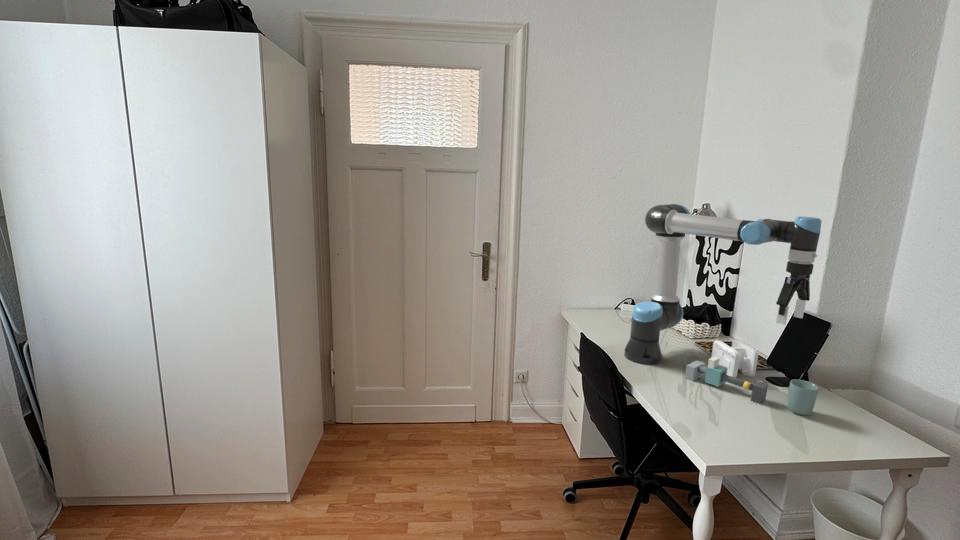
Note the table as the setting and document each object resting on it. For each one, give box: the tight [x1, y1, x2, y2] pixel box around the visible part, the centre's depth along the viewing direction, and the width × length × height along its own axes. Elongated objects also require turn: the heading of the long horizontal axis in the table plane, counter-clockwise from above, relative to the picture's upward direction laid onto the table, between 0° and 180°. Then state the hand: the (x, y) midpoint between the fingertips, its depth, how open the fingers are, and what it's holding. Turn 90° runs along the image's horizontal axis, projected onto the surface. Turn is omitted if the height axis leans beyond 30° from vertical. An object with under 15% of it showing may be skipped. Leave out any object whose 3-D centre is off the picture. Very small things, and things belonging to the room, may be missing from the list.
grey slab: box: [684, 360, 705, 382], centre depth 177 cm, size 3×8×5 cm, turn 129°
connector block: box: [750, 380, 769, 405], centre depth 160 cm, size 3×5×6 cm, turn 129°
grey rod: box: [697, 366, 755, 392], centre depth 169 cm, size 21×3×3 cm, turn 39°
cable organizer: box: [710, 339, 759, 378], centre depth 182 cm, size 15×11×12 cm
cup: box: [786, 378, 819, 416], centre depth 152 cm, size 8×8×10 cm
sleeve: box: [704, 356, 728, 388], centre depth 171 cm, size 5×6×9 cm
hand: (789, 320), depth 162 cm, fingers open, 13 cm apart
